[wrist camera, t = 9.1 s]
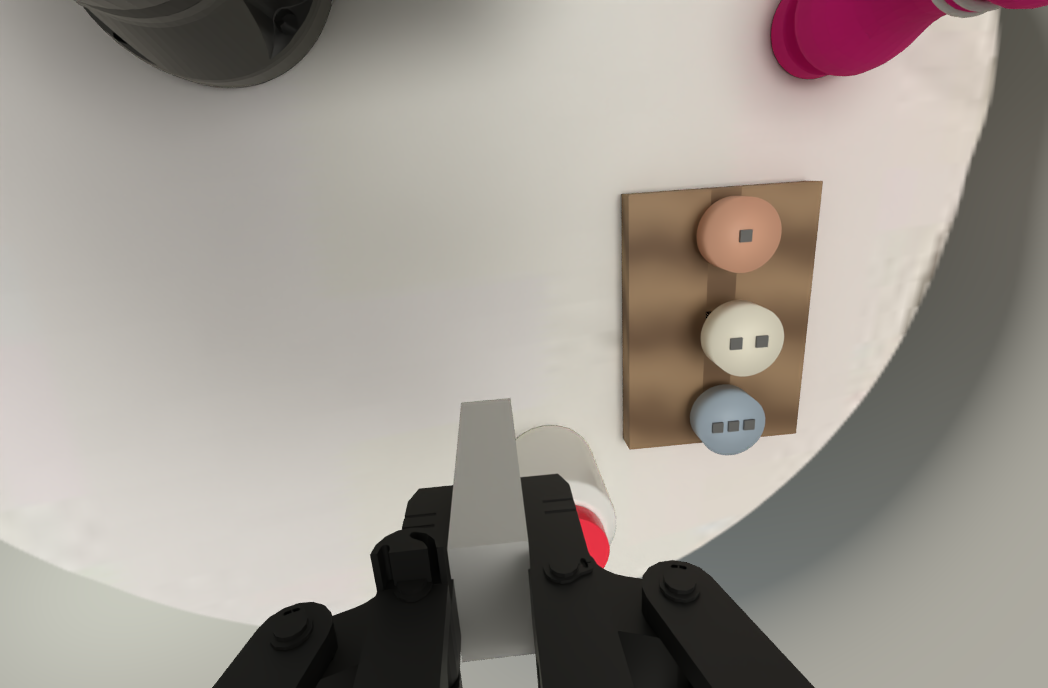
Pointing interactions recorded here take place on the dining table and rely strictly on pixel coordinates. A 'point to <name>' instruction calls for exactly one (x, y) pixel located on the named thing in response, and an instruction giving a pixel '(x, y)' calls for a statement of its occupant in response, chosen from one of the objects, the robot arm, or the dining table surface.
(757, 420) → the button
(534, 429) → the pill bottle
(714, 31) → the dining table surface
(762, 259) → the button
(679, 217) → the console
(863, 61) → the pepper mill
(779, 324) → the button
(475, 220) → the dining table surface
